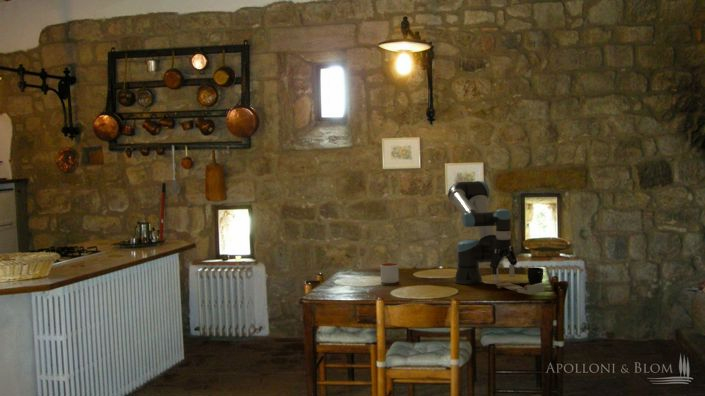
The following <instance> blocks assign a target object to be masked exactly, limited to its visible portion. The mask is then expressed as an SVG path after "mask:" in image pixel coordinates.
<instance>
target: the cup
mask: <svg viewBox="0 0 705 396" xmlns="http://www.w3.org/2000/svg"><path fill="white" fill-rule="evenodd" d="M379 265H380V282H381V283H383V284H395V283H396V284H397V283H398V282H399V264H398V263H394V262H393V263H392V262H387V263H381V264H379Z"/></svg>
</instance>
